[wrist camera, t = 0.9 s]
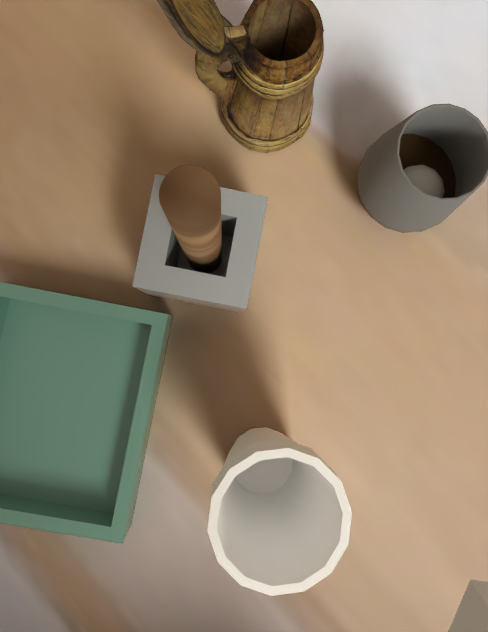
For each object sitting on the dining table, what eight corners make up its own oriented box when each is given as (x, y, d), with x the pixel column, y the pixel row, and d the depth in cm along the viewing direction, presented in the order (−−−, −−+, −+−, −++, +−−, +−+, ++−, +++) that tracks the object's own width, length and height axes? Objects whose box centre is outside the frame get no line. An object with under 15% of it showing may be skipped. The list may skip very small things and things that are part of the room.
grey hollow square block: (242, 313, 41) (246, 308, 33) (150, 295, 40) (132, 286, 32) (259, 223, 41) (268, 196, 33) (168, 204, 41) (155, 173, 33)
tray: (131, 524, 39) (122, 543, 36) (-42, 495, 39) (-68, 511, 35) (172, 315, 40) (168, 314, 37) (5, 283, 40) (-16, 278, 36)
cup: (455, 186, 42) (528, 140, 32) (403, 260, 42) (461, 237, 32) (380, 130, 42) (429, 67, 32) (327, 203, 41) (360, 163, 31)
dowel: (218, 276, 40) (214, 231, 22) (184, 270, 39) (153, 219, 21) (224, 243, 40) (226, 171, 22) (191, 237, 40) (165, 159, 22)
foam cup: (192, 459, 40) (177, 521, 27) (261, 390, 40) (279, 418, 27) (261, 530, 40) (280, 626, 27) (329, 460, 40) (380, 521, 28)
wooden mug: (167, 83, 41) (123, -110, 23) (299, 56, 42) (357, -151, 24) (187, 170, 41) (160, 44, 23) (320, 142, 42) (395, -2, 24)
